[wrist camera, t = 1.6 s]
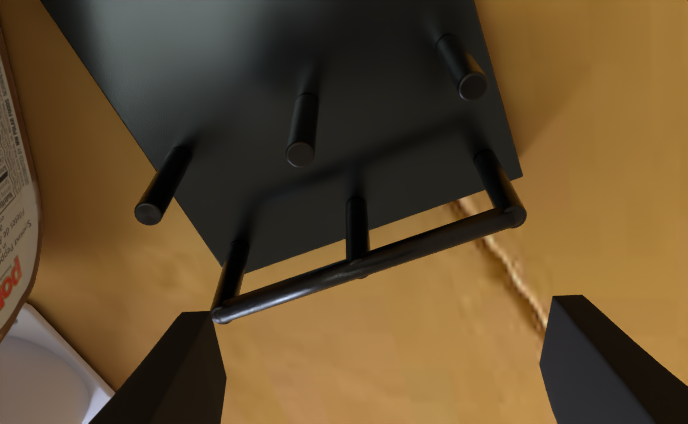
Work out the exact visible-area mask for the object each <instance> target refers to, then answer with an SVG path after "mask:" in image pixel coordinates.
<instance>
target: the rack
mask: <svg viewBox="0 0 688 424" xmlns="http://www.w3.org/2000/svg"><path fill="white" fill-rule="evenodd" d="M40 1H41V2H42V4H43V5H44V7H45V8H46V10H47V11H48V13H49V14H50V16H51V17H52V19H53V20H54V21H55V23H56V24H57V26H58V27H59V29H60V30H61V32H62V33H63V35H64V36H65V38H66V39H67V41H68V42H69V43H70V45H71V46H72V48H73V49H74V51H75V52H76V54H77V55H78V57H79V58H80V60H81V61H82V63H83V64H84V66H85V67H86V68H87V70H88V71H89V73H90V74H91V76H92V77H93V79H94V80H95V82H96V83H97V85H98V86H99V88H100V89H101V90H102V92H103V93H104V95H105V96H106V98H107V99H108V101H109V102H110V104H111V105H112V107H113V108H114V110H115V111H116V112H117V114H118V115H119V117H120V118H121V120H122V121H123V123H124V124H125V126H126V127H127V129H128V130H129V132H130V133H131V135H132V136H133V137H134V139H135V140H136V142H137V143H138V145H139V146H140V148H141V149H142V151H143V152H144V154H145V155H146V157H147V158H148V159H149V161H150V162H151V164H152V165H153V167H154V168H155V170H156V171H157V173H156V174H155V176H154V178H153V179H152V181H151V182H150V184H149V186H148V187H147V189H146V191H145V192H144V194H143V196H142V197H141V199H140V201H139V202H138V204H137V205H136V207H135V210H134V213H135V217H136V218H137V220H138V221H139V222H141V223H142V224H145V225H150V226H151V225H155V224H158V223H159V222H160V221H161V219H162V217H163V215H164V213H165V211H166V210H167V208H168V206H169V204H170V202H171V200H172V198H173V196H174V198H175V199H176V201H177V202H178V203H179V205H180V206H181V208H182V209H183V211H184V212H185V214H186V215H187V217H188V218H189V220H190V221H191V223H192V224H193V226H194V227H195V228H196V230H197V231H198V233H199V234H200V236H201V237H202V239H203V240H204V242H205V243H206V245H207V246H208V248H209V249H210V250H211V252H212V253H213V255H214V256H215V258H216V259H217V261H218V262H219V264H220V265H221V267H222V268H223V269H222V272H221V276H220V279H219V282H218V286H217V289H216V293H215V296H214V299H213V303H212V306H211V309H210V311H211V315H212V319H213V321H214V322H215V323H218V324H227V323H229V322H231V321H232V320H234V319H237V318H240V317H243V316H246V315H249V314H252V313H255V312H258V311H261V310H265V309H268V308H271V307H274V306H277V305H280V304H283V303H286V302H289V301H292V300H295V299H298V298H301V297H304V296H307V295H310V294H313V293H316V292H319V291H322V290H325V289H328V288H331V287H334V286H337V285H340V284H343V283H346V282H349V281H352V280H355V279H363V278H365V277H367V276H368V275H370V274H373V273H376V272H379V271H382V270H385V269H388V268H391V267H394V266H397V265H400V264H403V263H406V262H409V261H412V260H415V259H418V258H421V257H424V256H427V255H430V254H433V253H436V252H439V251H442V250H445V249H448V248H451V247H454V246H457V245H460V244H463V243H466V242H469V241H472V240H475V239H478V238H481V237H484V236H487V235H490V234H493V233H496V232H499V231H502V230H505V229H508V228H517V227H519V226H521V225H522V224H523V223H524V222H525V220H526V217H527V212H526V210H525V208H524V206H523V204H522V203H521V201H520V199H519V197H518V195H517V193H516V192H515V190H514V188H513V186H512V184H511V182H510V181H512V180H514V179H517V178H520V177H522V176H523V174H522V170H521V167H520V163H519V159H518V156H517V152H516V149H515V145H514V142H513V138H512V135H511V131H510V128H509V124H508V120H507V117H506V113H505V110H504V106H503V103H502V99H501V96H500V92H499V89H498V85H497V82H496V78H495V74H494V71H493V67H492V64H491V60H490V57H489V53H488V50H487V46H486V43H485V39H484V35H483V32H482V28H481V25H480V21H479V18H478V14H477V11H476V7H475V4H474V0H40ZM483 190H486V192H487V194H488V196H489V198H490V201H491V203H492V205H493V207H494V209H491V210H488V211H485V212H482V213H479V214H476V215H473V216H470V217H467V218H464V219H461V220H459V221H456V222H453V223H450V224H447V225H444V226H441V227H438V228H435V229H432V230H429V231H426V232H423V233H421V234H418V235H415V236H412V237H409V238H406V239H403V240H400V241H397V242H394V243H391V244H388V245H385V246H382V247H380V248H377V249H374V250H371V251H370V238H369V230H371V229H374V228H377V227H380V226H383V225H386V224H389V223H391V222H394V221H397V220H400V219H403V218H406V217H409V216H411V215H414V214H417V213H420V212H423V211H426V210H429V209H432V208H434V207H437V206H440V205H443V204H446V203H449V202H452V201H454V200H457V199H460V198H463V197H466V196H469V195H472V194H474V193H477V192H480V191H483ZM343 239H346V259H344V260H341V261H339V262H336V263H333V264H330V265H327V266H324V267H321V268H318V269H315V270H312V271H309V272H306V273H303V274H300V275H298V276H295V277H292V278H289V279H286V280H283V281H280V282H277V283H274V284H271V285H268V286H265V287H262V288H259V289H257V290H254V291H251V292H248V293H245V294H242V295H239V293H240V289H241V285H242V281H243V276H244V274H246V273H249V272H251V271H254V270H257V269H260V268H263V267H266V266H269V265H271V264H274V263H277V262H280V261H283V260H286V259H289V258H291V257H294V256H297V255H300V254H303V253H306V252H309V251H311V250H314V249H317V248H320V247H323V246H326V245H329V244H331V243H334V242H337V241H340V240H343Z"/></svg>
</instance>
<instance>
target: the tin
mask: <svg viewBox="0 0 688 424" xmlns="http://www.w3.org/2000/svg"><path fill="white" fill-rule="evenodd" d="M41 243H42V206H41V197H40V191H39V186H38V181H37V177H36V173H35V168H34V164H33V159H32V155H31V151H30V147H29V143H28V139H27V134H26V130H25V125H24V121H23V117H22V112H21V108H20V104H19V100H18V96H17V91H16V87H15V83H14V79H13V75H12V71H11V67H10V62H9V58H8V54H7V50H6V46H5V42H4V38H3V34H2V30H1V26H0V343H1V342H2V341H3V339H4V338H5V336H6V335H7V333H8V332H9V330H10V329H11V327H12V325H13V323H14V322H15V320H16V318H17V316H18V314H19V312H20V310H21V308H22V307H23V305H24V303H25V302H26V300H27V298H28V296H29V295H30V293H31V291H32V289H33V286H34V284H35V280H36V276H37V271H38V267H39V261H40V253H41Z"/></svg>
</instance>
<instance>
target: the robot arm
mask: <svg viewBox="0 0 688 424" xmlns="http://www.w3.org/2000/svg"><path fill="white" fill-rule="evenodd" d="M539 365H540V369H541V373H542V376H543V380H544V384H545V387H546V391H547V394H548V398H549V401H550V404H551V408H552V411H553V413H554V416H555V418H556V421H557V423H558V424H688V386H686V385H685V384H684V383H683V382H682V381H680V380H679V379H678V378H677V377H675V376H674V375H673V374H672V373H671V372H669V371H668V370H667V369H666V368H665V367H663V366H662V365H661V364H660V363H659V362H657V361H656V360H655V359H654V358H653V357H652V356H650V355H649V354H648V353H647V352H646V351H645V350H644V349H642V348H641V347H640V346H639V345H638V344H637V343H636V342H634V341H633V340H632V339H631V338H630V337H629V336H628V335H627V334H625V333H624V332H623V331H622V330H621V329H620V328H619V327H618V326H617V325H615V324H614V323H613V322H612V321H611V320H610V319H609V318H608V317H607V316H606V315H604V314H603V313H602V312H601V311H600V310H599V309H598V308H597V307H596V306H594V305H593V304H592V303H591V302H590V301H589V300H588V299H587V298H585V297H584V296H583V295H564V296H553V297H552V302H551V308H550V313H549V318H548V323H547V328H546V333H545V339H544V344H543V349H542V354H541V359H540V364H539ZM226 378H227V377H226V373H225V369H224V365H223V361H222V357H221V353H220V348H219V344H218V340H217V336H216V332H215V328H214V324H213V319H212V315H211V311H199V312H182V313H181V314H180V315H179V316H178V317H177V318H176V320H175V321H174V322H173V323H172V325H171V326H170V327H169V328H168V330H167V331H166V332H165V334H164V335H163V336H162V337H161V339H160V340H159V341H158V342H157V344H156V345H155V346H154V347H153V349H152V350H151V351H150V352H149V354H148V355H147V356H146V357H145V359H144V360H143V361H142V362H141V364H140V365H139V366H138V367H137V368H136V370H135V371H134V372H133V373H132V374H131V376H130V377H129V378H128V379H127V380H126V381H125V383H124V384H123V385H122V386H121V387H120V389H119V390H118V391H117V392H116V393H115V392H114V391H113V390H112V389H111V388H110V387H109V386H108V385H107V384H106V383H105V382H104V380H103V379H102V378H101V377H100V376H99V375H98V374H97V373H96V372H95V371H94V370H93V369H92V368H91V367H90V366H89V365H88V364H87V363H86V362H85V361H84V360H83V359H82V358H81V356H80V355H79V354H78V353H77V352H76V351H75V350H74V349H73V348H72V347H71V346H70V345H69V344H68V343H67V342H66V341H65V340H64V339H63V338H62V337H61V336H60V335H59V334H58V332H57V331H56V330H55V329H54V328H53V327H52V326H51V325H50V324H49V323H48V322H47V321H46V320H45V319H44V318H43V317H42V316H41V315H40V314H39V313H38V312H37V311H36V310H35V308H34V307H32V306H31V305H30V304H27V303H24V305H23V307H22V308H21V310H20V312H19V314H18V316H17V318H16V320H15V322H14V323H13V325H12V327H11V329H10V330H9V332H8V333H7V335H6V336H5V338H4V339H3V341H2V342H1V343H0V424H220V423H221V416H222V409H223V402H224V394H225V386H226Z"/></svg>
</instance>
